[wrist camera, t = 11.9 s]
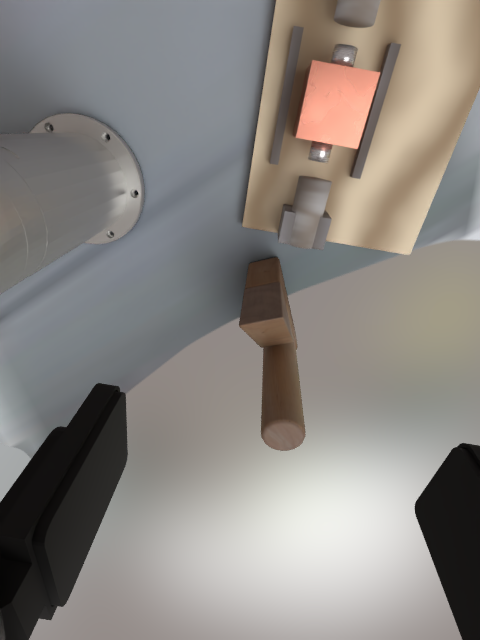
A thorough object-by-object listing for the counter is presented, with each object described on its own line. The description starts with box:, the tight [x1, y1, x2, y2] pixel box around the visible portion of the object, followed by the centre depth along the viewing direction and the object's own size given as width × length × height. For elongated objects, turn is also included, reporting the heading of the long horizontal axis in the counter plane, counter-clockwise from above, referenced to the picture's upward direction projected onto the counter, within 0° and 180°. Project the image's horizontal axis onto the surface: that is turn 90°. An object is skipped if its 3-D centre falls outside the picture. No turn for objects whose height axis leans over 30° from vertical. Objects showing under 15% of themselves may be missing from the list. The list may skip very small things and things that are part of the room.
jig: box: [242, 0, 480, 255], centre depth 29 cm, size 18×23×5 cm
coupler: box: [293, 44, 380, 163], centre depth 28 cm, size 5×8×5 cm, turn 171°
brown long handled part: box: [239, 257, 305, 451], centre depth 33 cm, size 4×11×18 cm, turn 15°
